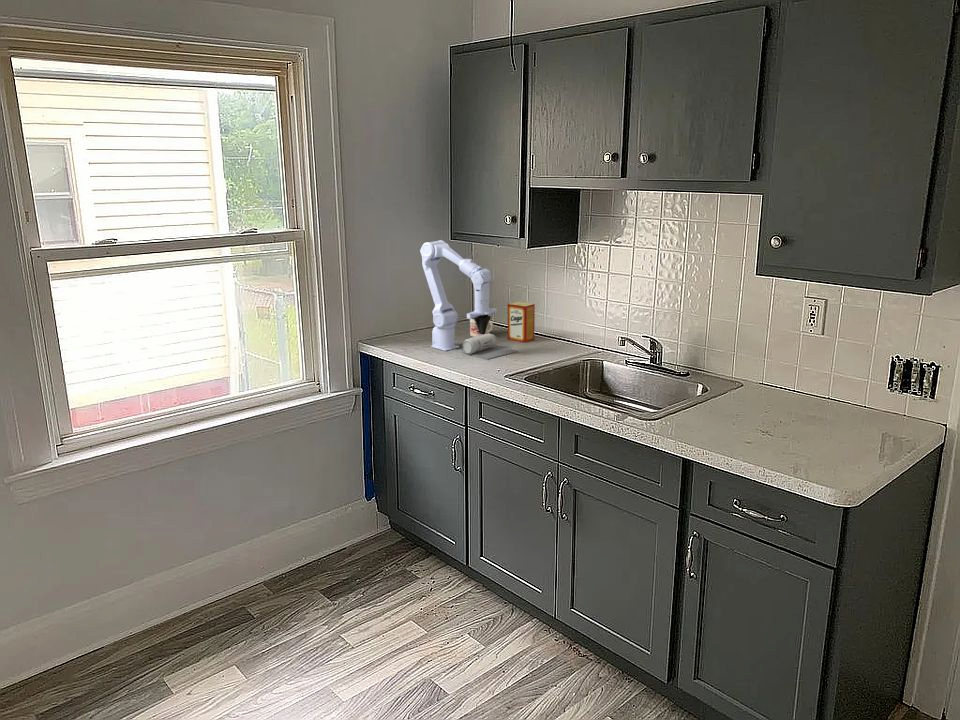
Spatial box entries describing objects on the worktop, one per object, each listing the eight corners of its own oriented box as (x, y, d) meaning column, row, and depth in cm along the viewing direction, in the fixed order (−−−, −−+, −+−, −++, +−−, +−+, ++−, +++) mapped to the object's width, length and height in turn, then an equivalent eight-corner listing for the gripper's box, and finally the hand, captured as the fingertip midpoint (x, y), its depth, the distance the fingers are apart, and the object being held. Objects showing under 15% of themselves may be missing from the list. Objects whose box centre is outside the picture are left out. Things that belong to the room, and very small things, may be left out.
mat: (462, 352, 300) (462, 351, 300) (492, 345, 311) (492, 344, 311) (487, 359, 289) (487, 358, 289) (518, 351, 300) (518, 350, 300)
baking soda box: (507, 339, 321) (507, 303, 316) (516, 336, 326) (516, 300, 321) (525, 342, 315) (525, 305, 311) (534, 339, 320) (534, 303, 315)
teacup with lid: (465, 335, 328) (464, 309, 325) (478, 331, 335) (478, 306, 332) (486, 339, 321) (486, 313, 318) (499, 335, 327) (499, 309, 324)
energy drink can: (473, 343, 292) (499, 336, 303) (463, 337, 296) (488, 330, 306) (471, 356, 295) (496, 349, 306) (460, 350, 298) (485, 343, 309)
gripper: (475, 304, 284) (475, 338, 288) (502, 299, 294) (502, 332, 297) (462, 301, 289) (463, 335, 293) (489, 296, 299) (490, 329, 302)
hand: (482, 333), depth 295 cm, fingers closed
